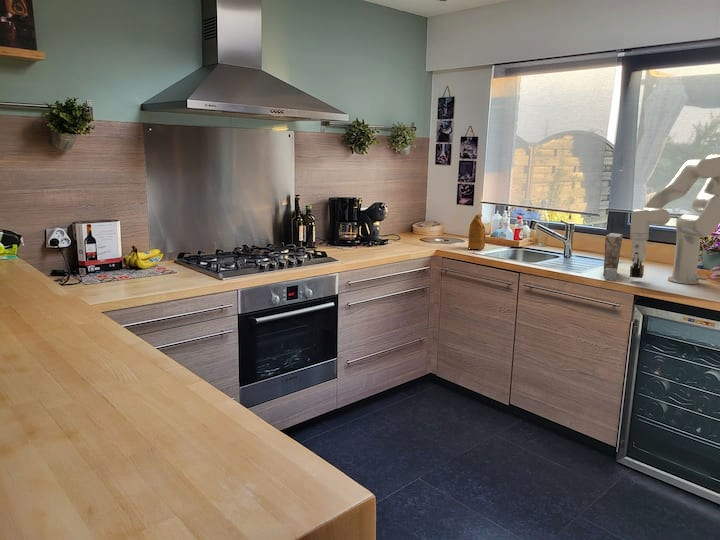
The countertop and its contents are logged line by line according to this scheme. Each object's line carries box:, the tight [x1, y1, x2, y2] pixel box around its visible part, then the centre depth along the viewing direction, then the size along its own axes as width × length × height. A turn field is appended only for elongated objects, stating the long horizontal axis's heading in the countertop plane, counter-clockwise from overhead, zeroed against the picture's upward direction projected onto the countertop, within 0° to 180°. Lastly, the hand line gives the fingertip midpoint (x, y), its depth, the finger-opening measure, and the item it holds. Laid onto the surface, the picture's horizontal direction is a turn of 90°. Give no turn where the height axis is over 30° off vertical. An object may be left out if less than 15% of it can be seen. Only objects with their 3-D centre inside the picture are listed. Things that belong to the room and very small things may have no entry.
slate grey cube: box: [603, 268, 618, 281], centre depth 260 cm, size 5×5×5 cm
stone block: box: [603, 232, 624, 276], centre depth 269 cm, size 13×7×20 cm, turn 153°
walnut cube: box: [629, 264, 645, 279], centre depth 254 cm, size 5×5×5 cm
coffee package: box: [467, 213, 487, 251], centre depth 343 cm, size 10×12×22 cm
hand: (636, 274), depth 254 cm, fingers closed on walnut cube, 5 cm apart
